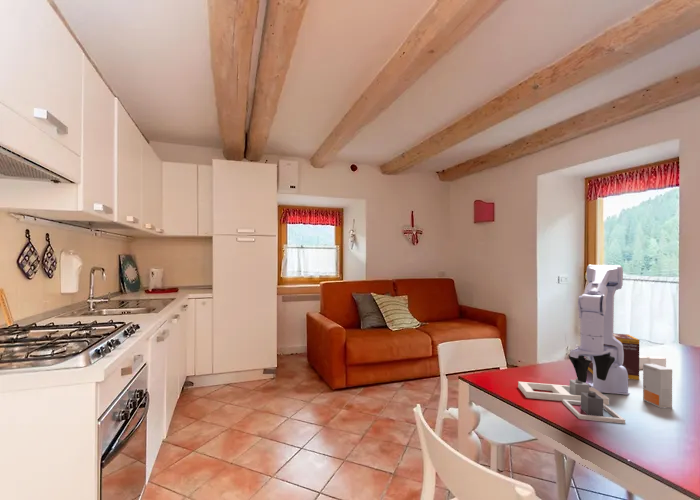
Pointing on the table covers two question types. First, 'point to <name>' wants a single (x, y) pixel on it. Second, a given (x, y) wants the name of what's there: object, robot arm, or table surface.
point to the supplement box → (627, 355)
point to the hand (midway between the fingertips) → (591, 380)
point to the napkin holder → (651, 361)
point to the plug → (592, 403)
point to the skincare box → (657, 385)
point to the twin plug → (578, 387)
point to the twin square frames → (554, 392)
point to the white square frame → (597, 418)
